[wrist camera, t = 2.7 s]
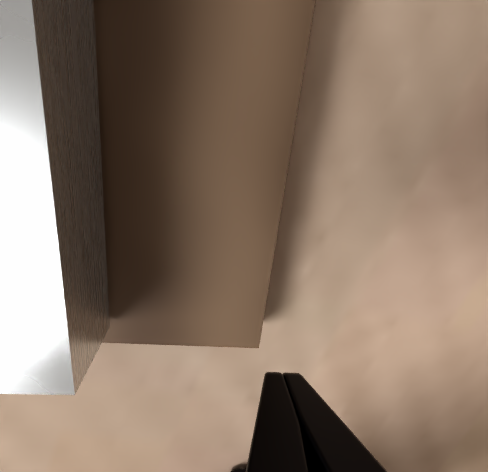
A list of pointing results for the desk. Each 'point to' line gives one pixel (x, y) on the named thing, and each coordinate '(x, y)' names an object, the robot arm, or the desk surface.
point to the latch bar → (50, 197)
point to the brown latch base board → (195, 161)
